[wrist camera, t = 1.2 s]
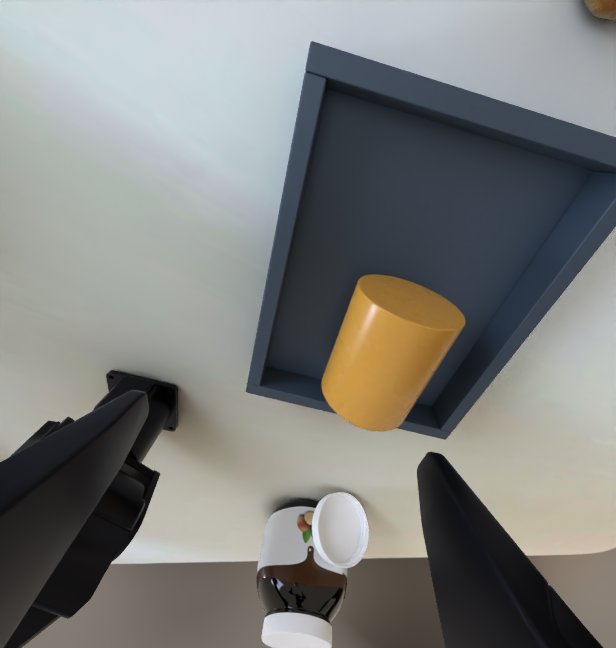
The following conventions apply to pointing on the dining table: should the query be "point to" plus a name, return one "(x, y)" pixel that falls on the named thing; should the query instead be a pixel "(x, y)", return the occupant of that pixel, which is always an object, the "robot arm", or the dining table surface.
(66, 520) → the robot arm
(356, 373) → the tapered yellow cylinder
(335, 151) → the blue tray
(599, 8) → the pastry
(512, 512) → the dining table surface
